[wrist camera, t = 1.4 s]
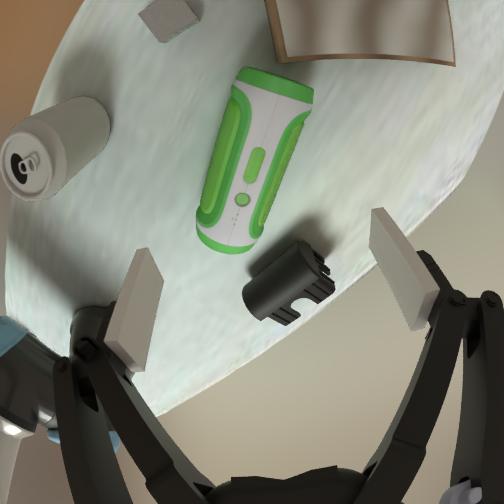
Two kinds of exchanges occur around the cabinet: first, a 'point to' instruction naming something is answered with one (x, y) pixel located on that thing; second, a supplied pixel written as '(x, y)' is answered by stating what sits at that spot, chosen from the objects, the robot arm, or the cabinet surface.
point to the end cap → (288, 284)
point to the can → (53, 147)
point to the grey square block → (168, 18)
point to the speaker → (250, 158)
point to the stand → (361, 30)
